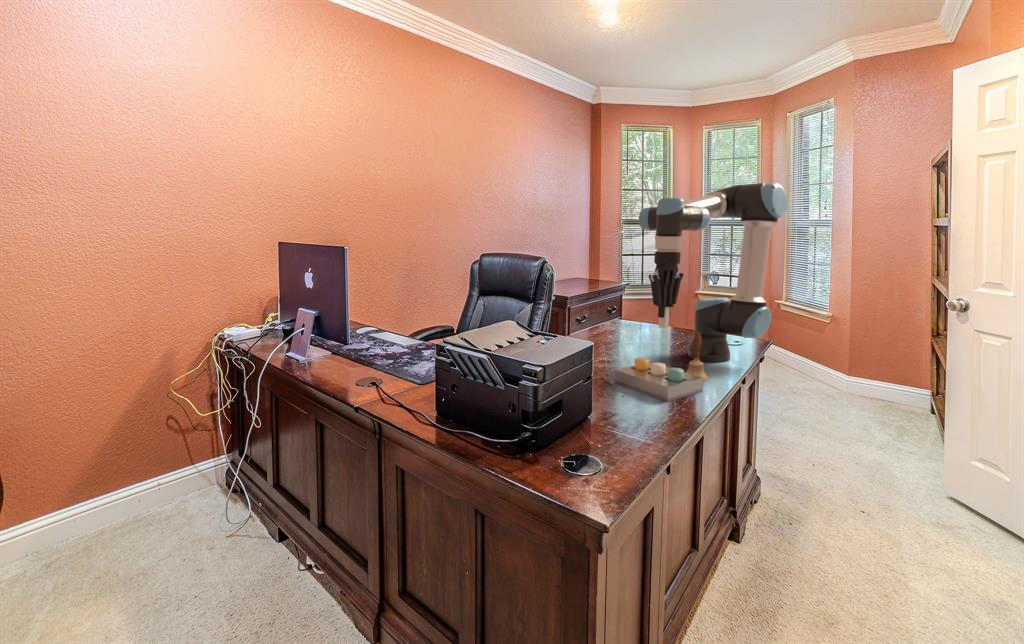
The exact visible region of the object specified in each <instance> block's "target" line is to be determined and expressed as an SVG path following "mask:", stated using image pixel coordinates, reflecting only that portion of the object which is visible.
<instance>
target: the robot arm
mask: <svg viewBox="0 0 1024 644" xmlns="http://www.w3.org/2000/svg"><path fill="white" fill-rule="evenodd" d="M787 209H788V197H787V194H786V190H785V188H784V187H783V186H782V185H781V184H779V183H777V182H762V183H749V184H747V183H746V184H735V185H731V186H727V187H723V188H721V189H718V190H713V191H710V192H709V193H707V194H706V195H705V196H700V197H696V198H691V199H688V200H685V199H683V198H682V197H664V198H663V197H662V198H660V199H659V200H658V201H657V206H650V207H644V208H642V209H641V210H640V212H639V215H638V225H639V226H640V228H641V229H642V230H645V231H650V232H652V231H655V246H654V249H655V250H656V251H655V252H654V260H653V261H654V264H655V265H656V266H655V268H654V272H653V273H652V274H648V278H649V279H648V280H649V281H650V286H651V295H652V302H653V305H654V306H655V307H658V308H657V309H658V311H657V312H658V313H657V317H658V325H657V326H658V328H661V329H665V330H667V329H669V328H670V327H669V326H670V324H669V323H670V316H671V308H674V305H676V304H677V299H678V297H679V292H680V291H679V290H680V287H681V282H682V280H683V277H684V273H682V272H680V271H679V267H678V265H679V264H680V263H681V251H680V250H682V242H683V241H682V238H683V236H682V235H683V231H684V232H686V231H688V232H689V231H691V232H697V231H701V230H704V229H705V228H706V227H707V226H708V224H709V223H710V218H711V219H719V218H732V219H733V218H736V219H737V218H738V219H740V224H742V226H743V227H744V229H743V237H742V245H741V252H740V253H741V254H740V262H739V269H738V276H737V277H738V278H737V283H736V284H737V285H736V291H735V292H736V293H735V295H733V296H731V298H728V297H708V298H701V299H698V300H697V301H696V303H695V311H694V312H695V316H694V317H695V318H694V333H693V334H694V335H693V336H695V333H696V332H700V336H701V347H700V350H699V361H700V362H708V363H722V362H727V361H730V360H731V351H730V347H729V343H728V340H727V335H731V336H736V337H742V338H744V339H759V338H761V337H763V336H764V335H765V334H766V332H767V331H768V330H769V328H770V325H771V323H772V311H771V309H770V308H768V307H767V300H766V299H765V298H764V297H763V293H764V286H765V279H766V272H767V263H768V258H769V250H770V249H769V247H770V242H771V234H772V229H773V227H774V226H775V227H776V225H777V224H778V221H779V220H778V219H780V218H781V217H783V216H785V213H786V212H787ZM693 339H694V337H692V341H691V344H690V347H689V348H688V357H689V358H691V359H693V360H694V346H693Z"/></svg>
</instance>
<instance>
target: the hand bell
mask: <svg viewBox="0 0 1024 644" xmlns="http://www.w3.org/2000/svg"><path fill="white" fill-rule="evenodd" d="M693 336H694V335H693ZM693 338H694V339H693ZM693 338H692V341H693V346H694V359H693V360H690V361H689V363H688V367H687V370H686V371H685V373H688V374H692V375H695V376H699V377H702V378H703V382H706V380H707V381H708V380H709V377H708V375H707V374H706V372H705V369H704V363H703V361H700V360H699V350H700V347H701V336H700V332H696V333H695V336H694V337H693Z"/></svg>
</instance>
